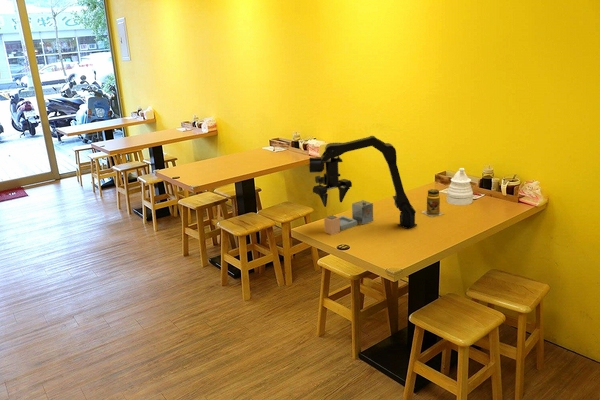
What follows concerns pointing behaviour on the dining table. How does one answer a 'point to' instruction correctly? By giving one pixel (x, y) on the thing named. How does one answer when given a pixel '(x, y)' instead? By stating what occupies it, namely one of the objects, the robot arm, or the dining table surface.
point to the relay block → (332, 224)
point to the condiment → (433, 203)
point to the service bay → (346, 222)
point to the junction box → (362, 212)
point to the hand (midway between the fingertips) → (333, 204)
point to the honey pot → (460, 189)
